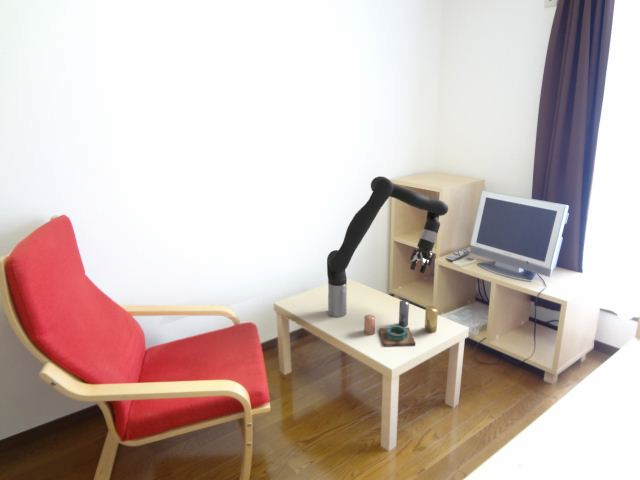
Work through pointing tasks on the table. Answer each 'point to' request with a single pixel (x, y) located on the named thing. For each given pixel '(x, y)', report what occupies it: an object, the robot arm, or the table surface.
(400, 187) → the robot arm
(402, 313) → the steel peg
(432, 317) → the brass peg
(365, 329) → the terracotta peg
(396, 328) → the ring board
